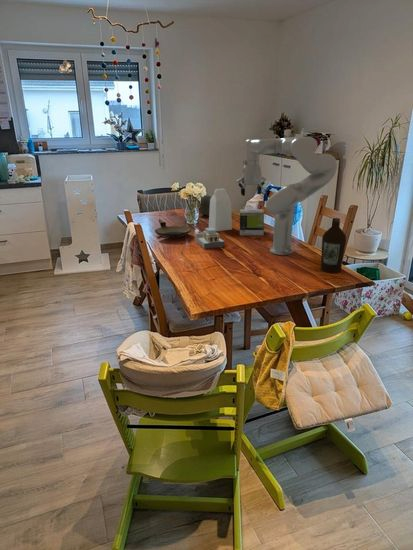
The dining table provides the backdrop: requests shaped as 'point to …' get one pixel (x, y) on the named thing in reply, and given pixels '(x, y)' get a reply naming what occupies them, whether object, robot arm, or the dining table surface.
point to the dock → (209, 244)
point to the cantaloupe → (205, 205)
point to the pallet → (210, 237)
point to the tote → (210, 230)
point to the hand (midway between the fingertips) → (251, 194)
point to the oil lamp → (171, 230)
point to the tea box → (251, 222)
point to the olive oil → (333, 248)
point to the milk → (220, 211)
